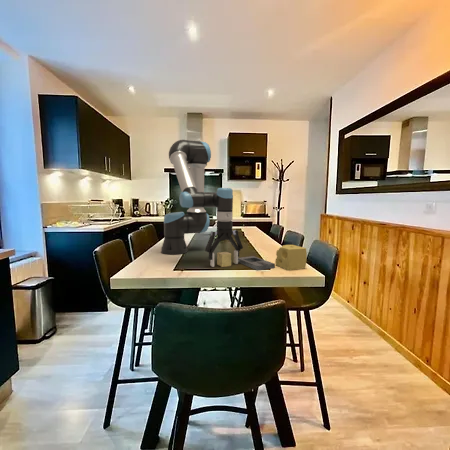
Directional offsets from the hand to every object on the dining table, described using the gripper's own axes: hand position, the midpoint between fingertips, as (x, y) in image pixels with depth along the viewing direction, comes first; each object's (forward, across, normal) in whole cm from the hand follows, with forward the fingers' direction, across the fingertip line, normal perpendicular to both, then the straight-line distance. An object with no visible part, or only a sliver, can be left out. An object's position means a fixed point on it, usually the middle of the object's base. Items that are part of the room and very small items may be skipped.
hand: (224, 264), depth 135 cm
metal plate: (0, +14, -6) cm, 15 cm away
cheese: (+1, +27, -17) cm, 32 cm away
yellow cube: (0, 0, 0) cm, 0 cm away
